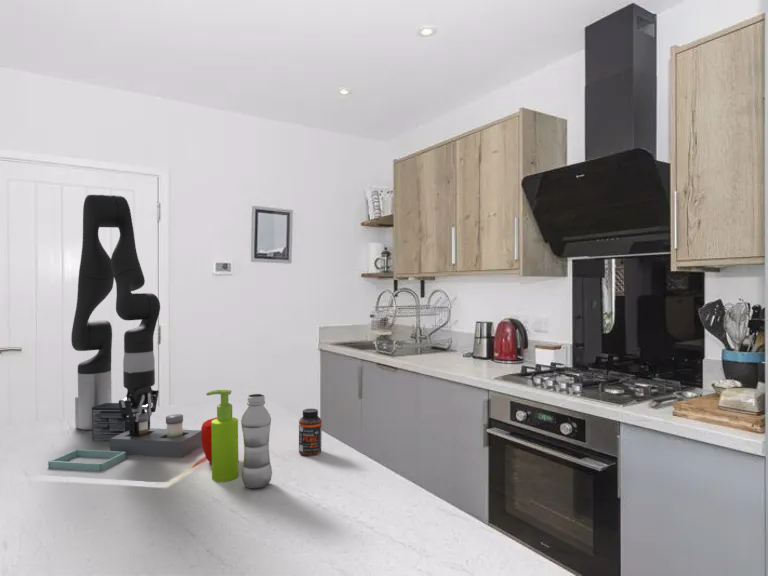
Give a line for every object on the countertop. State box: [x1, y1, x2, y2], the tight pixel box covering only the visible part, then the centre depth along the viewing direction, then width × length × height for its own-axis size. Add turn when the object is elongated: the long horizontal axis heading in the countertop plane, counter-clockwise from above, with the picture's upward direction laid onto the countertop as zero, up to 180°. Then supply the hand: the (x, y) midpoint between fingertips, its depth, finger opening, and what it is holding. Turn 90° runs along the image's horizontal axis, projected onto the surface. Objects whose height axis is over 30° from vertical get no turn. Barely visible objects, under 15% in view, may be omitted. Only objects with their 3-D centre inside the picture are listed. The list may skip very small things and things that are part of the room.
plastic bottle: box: [240, 393, 273, 489], centre depth 113 cm, size 6×7×20 cm
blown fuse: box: [132, 412, 149, 437], centre depth 136 cm, size 4×4×9 cm
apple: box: [200, 417, 217, 464], centre depth 129 cm, size 9×9×11 cm
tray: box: [47, 448, 127, 472], centre depth 126 cm, size 14×9×2 cm, turn 81°
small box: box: [91, 402, 137, 442], centre depth 146 cm, size 11×6×10 cm, turn 84°
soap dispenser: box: [205, 389, 240, 483], centre depth 119 cm, size 6×7×20 cm
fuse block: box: [109, 413, 202, 459], centre depth 135 cm, size 20×10×10 cm, turn 81°
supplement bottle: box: [298, 408, 323, 457], centre depth 135 cm, size 6×6×11 cm
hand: (139, 432), depth 136 cm, fingers closed on blown fuse, 4 cm apart
